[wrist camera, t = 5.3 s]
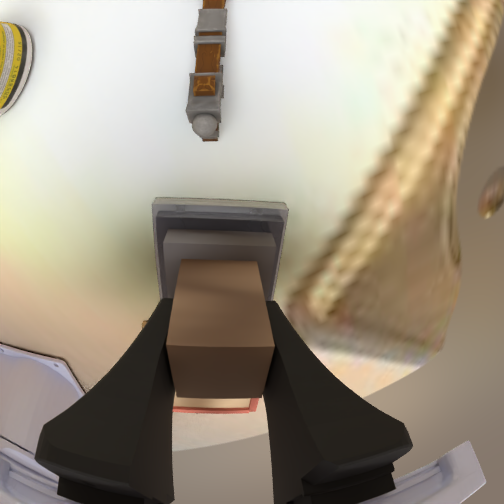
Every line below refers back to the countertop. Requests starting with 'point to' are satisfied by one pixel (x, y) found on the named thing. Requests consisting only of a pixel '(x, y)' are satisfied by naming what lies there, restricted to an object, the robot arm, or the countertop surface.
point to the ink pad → (217, 224)
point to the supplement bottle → (13, 62)
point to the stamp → (219, 312)
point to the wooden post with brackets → (208, 71)
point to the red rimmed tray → (213, 404)
